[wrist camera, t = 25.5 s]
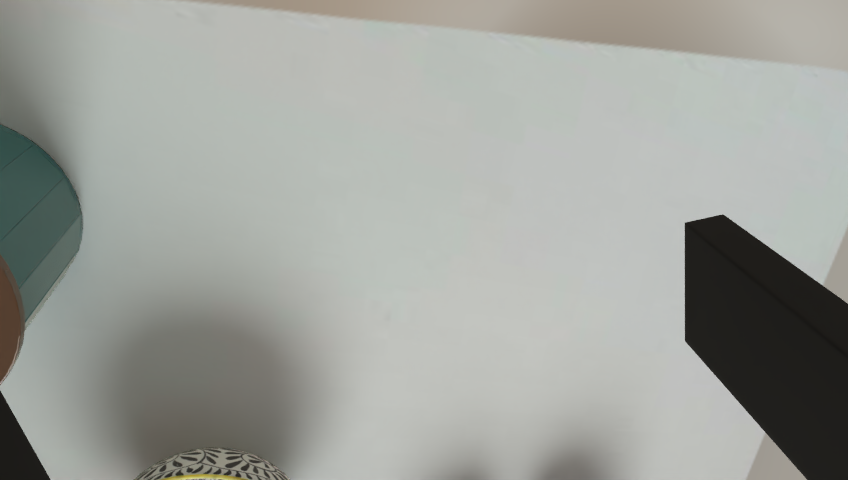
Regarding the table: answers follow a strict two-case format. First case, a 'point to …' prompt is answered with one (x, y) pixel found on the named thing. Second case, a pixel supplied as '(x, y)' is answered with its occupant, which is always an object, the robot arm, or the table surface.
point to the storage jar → (36, 219)
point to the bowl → (213, 466)
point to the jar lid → (10, 320)
